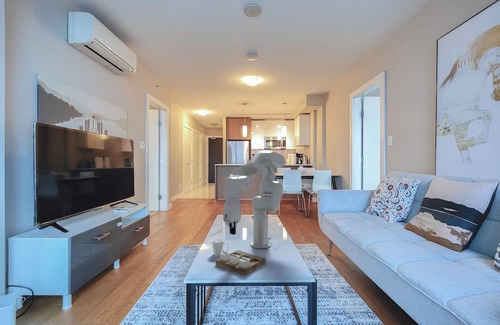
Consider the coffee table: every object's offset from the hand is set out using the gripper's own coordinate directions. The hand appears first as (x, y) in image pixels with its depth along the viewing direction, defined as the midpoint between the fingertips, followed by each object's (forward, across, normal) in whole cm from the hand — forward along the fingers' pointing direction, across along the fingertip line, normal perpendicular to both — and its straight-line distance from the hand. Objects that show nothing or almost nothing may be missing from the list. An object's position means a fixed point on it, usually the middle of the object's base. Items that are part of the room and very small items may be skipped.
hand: (232, 234), depth 134 cm
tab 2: (+13, +6, +13) cm, 19 cm away
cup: (+15, -2, -12) cm, 19 cm away
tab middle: (+13, +6, +7) cm, 15 cm away
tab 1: (+13, +6, 0) cm, 14 cm away
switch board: (+14, +1, +7) cm, 16 cm away
